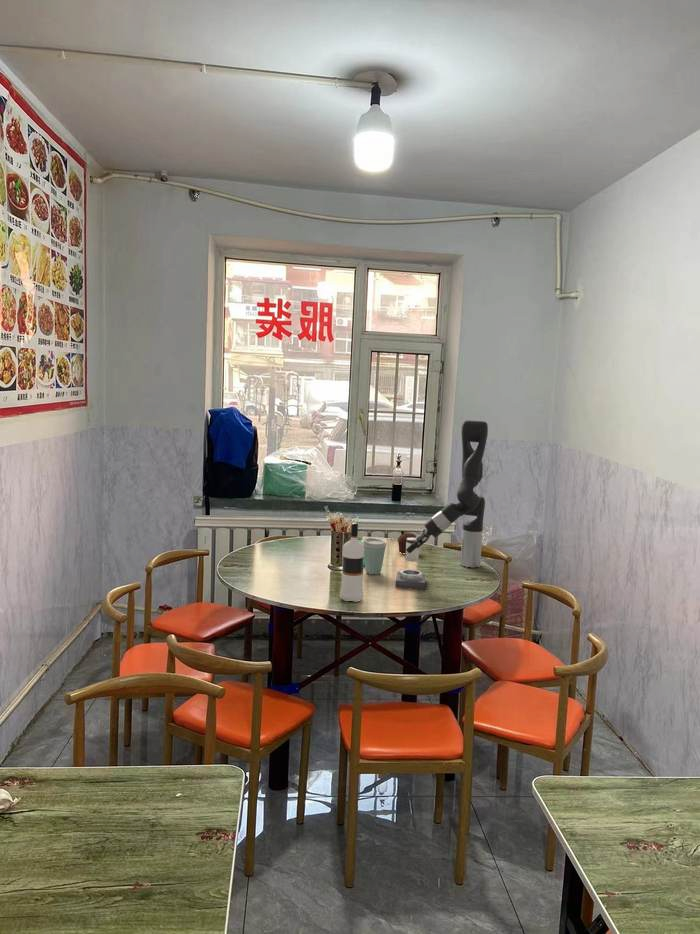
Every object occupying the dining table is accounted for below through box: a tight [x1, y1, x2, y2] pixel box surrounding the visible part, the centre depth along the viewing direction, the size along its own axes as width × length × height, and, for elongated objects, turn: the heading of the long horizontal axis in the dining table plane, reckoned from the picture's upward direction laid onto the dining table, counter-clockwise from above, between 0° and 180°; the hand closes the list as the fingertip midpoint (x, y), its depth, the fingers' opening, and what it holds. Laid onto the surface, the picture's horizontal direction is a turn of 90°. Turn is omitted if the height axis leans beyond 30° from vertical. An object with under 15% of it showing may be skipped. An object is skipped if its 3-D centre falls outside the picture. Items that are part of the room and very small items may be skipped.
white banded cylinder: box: [405, 538, 420, 563], centre depth 286 cm, size 6×6×9 cm
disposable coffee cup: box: [362, 537, 387, 575], centre depth 301 cm, size 11×11×15 cm
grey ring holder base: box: [394, 568, 426, 591], centre depth 288 cm, size 14×12×5 cm
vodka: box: [339, 522, 365, 601], centre depth 262 cm, size 9×9×30 cm
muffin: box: [396, 532, 417, 554], centre depth 341 cm, size 12×11×10 cm
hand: (408, 549), depth 287 cm, fingers closed on white banded cylinder, 5 cm apart
